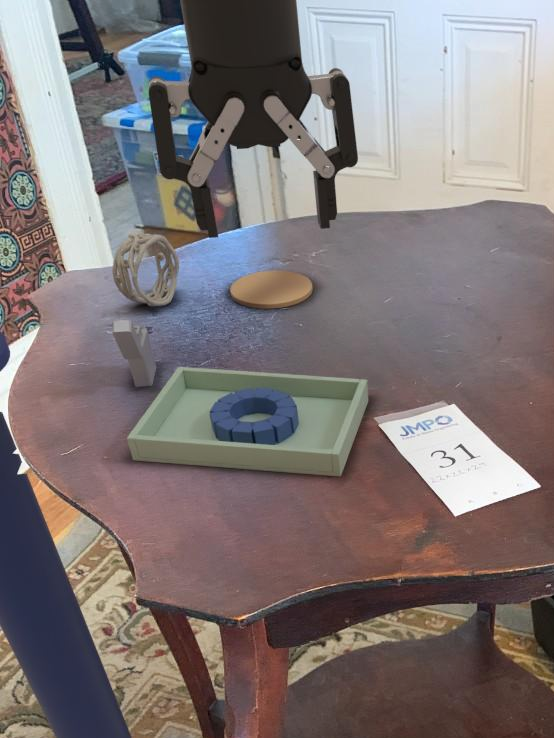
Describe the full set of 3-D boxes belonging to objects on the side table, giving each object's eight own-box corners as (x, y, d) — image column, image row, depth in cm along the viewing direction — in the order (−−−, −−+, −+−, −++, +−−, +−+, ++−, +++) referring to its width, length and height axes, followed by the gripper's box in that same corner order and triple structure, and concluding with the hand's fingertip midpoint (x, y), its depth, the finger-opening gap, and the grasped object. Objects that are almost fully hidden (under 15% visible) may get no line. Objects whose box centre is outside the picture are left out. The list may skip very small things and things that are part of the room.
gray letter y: (139, 367, 90) (120, 294, 85) (156, 366, 91) (138, 293, 85) (131, 401, 85) (110, 326, 80) (148, 400, 86) (129, 325, 80)
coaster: (220, 306, 102) (219, 301, 101) (244, 272, 109) (243, 268, 108) (301, 311, 101) (301, 306, 100) (320, 277, 108) (320, 272, 108)
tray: (132, 460, 78) (126, 438, 76) (183, 387, 87) (178, 366, 86) (340, 476, 76) (338, 454, 75) (368, 400, 86) (367, 379, 84)
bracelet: (189, 292, 104) (175, 225, 99) (148, 318, 99) (131, 249, 94) (162, 286, 105) (147, 220, 100) (120, 312, 100) (102, 243, 95)
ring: (202, 445, 79) (198, 428, 78) (228, 401, 85) (225, 385, 84) (286, 451, 78) (283, 434, 77) (306, 407, 84) (304, 390, 83)
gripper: (336, -38, 59) (351, 207, 70) (122, -33, 56) (174, 220, 67) (353, -21, 54) (367, 240, 65) (118, -16, 51) (175, 256, 62)
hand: (268, 229), depth 66 cm, fingers open, 8 cm apart
